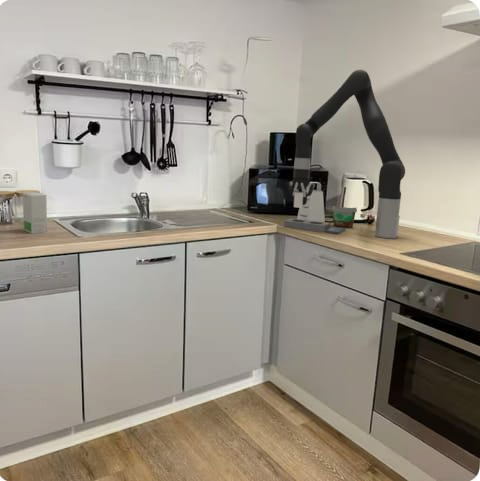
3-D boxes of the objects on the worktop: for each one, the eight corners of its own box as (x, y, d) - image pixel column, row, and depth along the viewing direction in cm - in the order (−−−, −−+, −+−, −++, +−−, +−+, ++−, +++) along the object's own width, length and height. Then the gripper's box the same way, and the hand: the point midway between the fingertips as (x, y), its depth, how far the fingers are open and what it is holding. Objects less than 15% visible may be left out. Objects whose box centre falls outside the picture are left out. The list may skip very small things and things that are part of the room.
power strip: (329, 229, 215) (330, 222, 214) (324, 232, 207) (324, 224, 206) (290, 224, 224) (291, 217, 223) (283, 226, 216) (284, 220, 215)
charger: (304, 207, 216) (305, 192, 215) (301, 207, 213) (302, 192, 211) (296, 206, 218) (297, 191, 217) (293, 207, 215) (294, 191, 213)
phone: (345, 230, 213) (345, 228, 213) (338, 234, 203) (338, 232, 202) (332, 228, 216) (333, 226, 216) (325, 232, 205) (325, 230, 205)
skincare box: (23, 230, 185) (21, 192, 182) (39, 228, 190) (37, 192, 187) (32, 234, 180) (30, 194, 176) (48, 232, 184) (46, 194, 181)
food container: (327, 226, 222) (329, 206, 220) (331, 224, 227) (332, 205, 225) (352, 229, 216) (354, 208, 214) (355, 227, 222) (357, 207, 220)
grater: (297, 219, 241) (299, 181, 236) (313, 218, 245) (316, 181, 241) (307, 222, 231) (310, 183, 227) (324, 221, 236) (327, 183, 232)
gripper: (319, 168, 212) (316, 205, 215) (290, 166, 218) (288, 202, 222) (313, 169, 205) (310, 206, 209) (284, 167, 212) (282, 203, 215)
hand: (299, 204), depth 215 cm, fingers closed on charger, 4 cm apart
